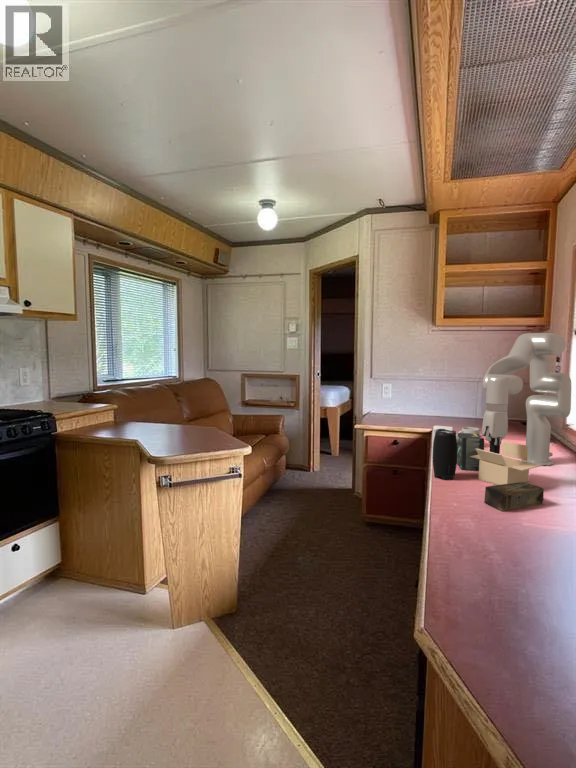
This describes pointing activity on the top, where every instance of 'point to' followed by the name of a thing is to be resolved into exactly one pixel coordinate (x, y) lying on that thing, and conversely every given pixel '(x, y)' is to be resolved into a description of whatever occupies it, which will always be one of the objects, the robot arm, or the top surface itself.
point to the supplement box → (435, 431)
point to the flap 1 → (491, 457)
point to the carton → (504, 471)
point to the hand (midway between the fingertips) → (494, 454)
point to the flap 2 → (515, 450)
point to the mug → (469, 430)
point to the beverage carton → (513, 495)
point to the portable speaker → (445, 454)
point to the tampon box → (468, 450)
